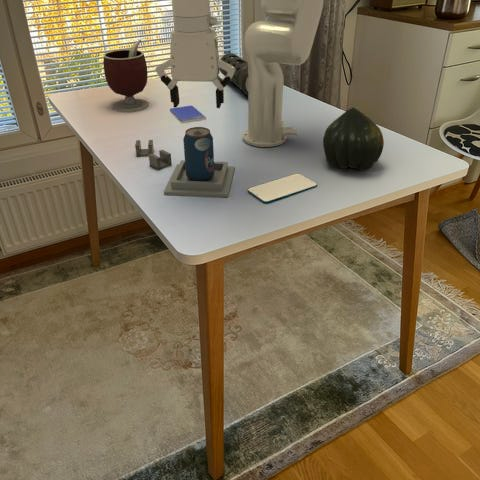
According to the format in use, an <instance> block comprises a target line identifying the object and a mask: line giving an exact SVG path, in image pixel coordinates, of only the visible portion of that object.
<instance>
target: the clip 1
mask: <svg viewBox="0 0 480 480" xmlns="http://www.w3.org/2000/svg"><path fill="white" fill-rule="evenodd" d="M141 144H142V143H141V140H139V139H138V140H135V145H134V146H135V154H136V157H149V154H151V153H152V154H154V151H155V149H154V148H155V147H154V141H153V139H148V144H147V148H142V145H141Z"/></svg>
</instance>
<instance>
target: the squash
mask: <svg viewBox="0 0 480 480" xmlns="http://www.w3.org/2000/svg"><path fill="white" fill-rule="evenodd" d="M322 139H323V140H322V147H323V153H324V155H325V158H326V159H325V160H326V161H327V162H328V164H329V165H330V166H332V167H334V168H342V169H348V168H349V167H350V168H353V169H356V170H358V171H361V170H362V171H367V170H369V169H371V168H372V167H373V165H374V164H375V163H377V162H378V161H379V159H380V157H381V156H382V153H383V150H384V145H385V141H384V137H383V132H382V131H381V128H380V127H379V126H378V125H377V124H376V122H374V121H373V120H372V119H371V118H370V117H368V116H367V115H366V114H365V113H363V112H362V111H360V110H359V109H357V108H355V107H354V106H353V107H350V108H349V109H347V110H346V111H344V112H343V113H342V114H341V115H339V116H338V117H337V118H336V119H334V120H333V121H332V122H331V123H330V124H329V125H328V126H327V127H326V130H325V132H324V135H323V138H322Z"/></svg>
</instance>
